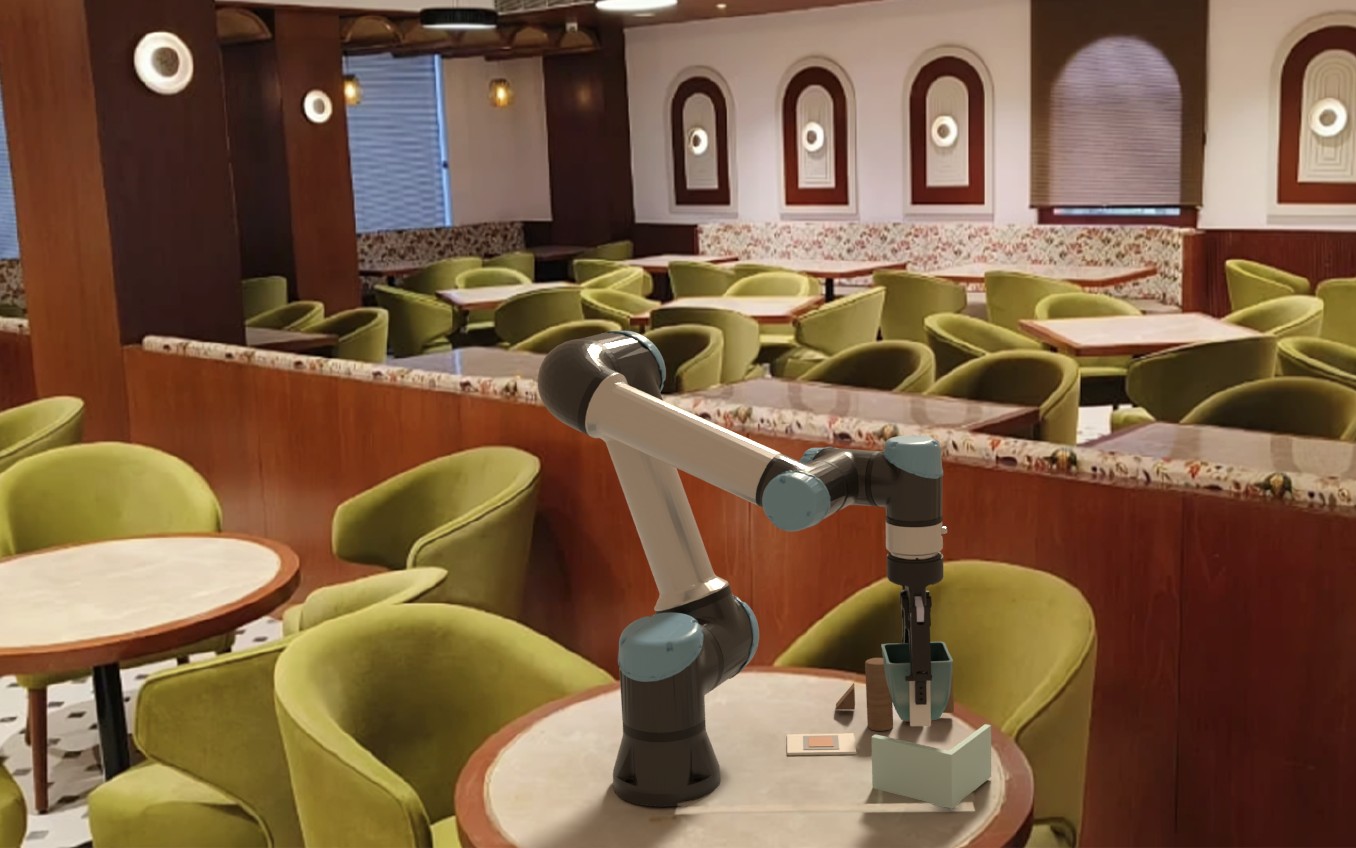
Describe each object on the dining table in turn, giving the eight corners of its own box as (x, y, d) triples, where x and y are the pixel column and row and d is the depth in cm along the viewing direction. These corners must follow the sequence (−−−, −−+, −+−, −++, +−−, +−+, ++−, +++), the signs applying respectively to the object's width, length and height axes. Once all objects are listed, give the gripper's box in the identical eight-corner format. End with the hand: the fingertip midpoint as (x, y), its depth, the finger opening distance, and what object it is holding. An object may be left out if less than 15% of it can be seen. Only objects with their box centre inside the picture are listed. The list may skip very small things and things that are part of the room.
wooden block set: (953, 714, 226) (950, 649, 225) (955, 731, 217) (953, 663, 216) (836, 715, 228) (833, 650, 228) (834, 732, 220) (831, 665, 219)
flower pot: (882, 704, 204) (880, 642, 202) (945, 702, 203) (944, 640, 202) (888, 728, 195) (886, 663, 194) (955, 725, 195) (953, 661, 193)
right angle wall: (991, 776, 202) (990, 725, 201) (952, 808, 193) (951, 755, 192) (913, 758, 210) (913, 709, 208) (872, 788, 200) (871, 737, 199)
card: (787, 755, 212) (787, 751, 212) (787, 737, 219) (786, 733, 219) (856, 754, 212) (856, 750, 212) (853, 735, 219) (853, 732, 219)
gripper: (952, 573, 185) (954, 742, 188) (934, 531, 205) (936, 684, 209) (892, 574, 185) (895, 743, 189) (880, 533, 206) (883, 685, 210)
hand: (917, 712), depth 199 cm, fingers closed on flower pot, 8 cm apart
